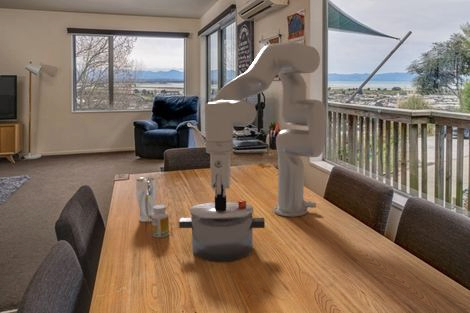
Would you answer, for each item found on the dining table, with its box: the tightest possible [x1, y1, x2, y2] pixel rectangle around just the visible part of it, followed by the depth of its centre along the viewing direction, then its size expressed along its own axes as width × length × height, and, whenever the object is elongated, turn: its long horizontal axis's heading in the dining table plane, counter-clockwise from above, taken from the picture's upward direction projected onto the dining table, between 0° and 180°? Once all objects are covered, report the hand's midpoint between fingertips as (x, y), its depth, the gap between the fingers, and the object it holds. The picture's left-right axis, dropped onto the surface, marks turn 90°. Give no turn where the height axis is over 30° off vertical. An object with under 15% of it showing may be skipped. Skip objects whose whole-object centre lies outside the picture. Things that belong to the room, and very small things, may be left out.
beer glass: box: [135, 176, 157, 223], centre depth 135 cm, size 7×7×15 cm
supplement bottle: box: [151, 204, 170, 239], centre depth 121 cm, size 5×5×10 cm
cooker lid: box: [189, 199, 254, 219], centre depth 110 cm, size 19×19×3 cm
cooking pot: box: [178, 214, 266, 263], centre depth 111 cm, size 25×18×10 cm
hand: (220, 209), depth 107 cm, fingers closed
